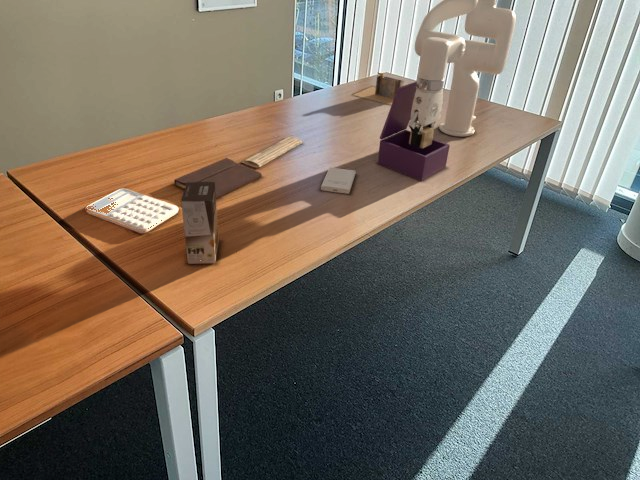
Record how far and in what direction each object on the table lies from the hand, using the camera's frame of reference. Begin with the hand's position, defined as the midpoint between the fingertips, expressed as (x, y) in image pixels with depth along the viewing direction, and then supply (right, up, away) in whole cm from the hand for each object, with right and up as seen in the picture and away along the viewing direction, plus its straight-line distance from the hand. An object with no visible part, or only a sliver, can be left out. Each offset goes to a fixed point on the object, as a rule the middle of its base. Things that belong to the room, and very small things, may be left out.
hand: (420, 142), depth 161 cm
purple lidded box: (-2, -6, +6) cm, 9 cm away
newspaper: (-46, -2, +9) cm, 47 cm away
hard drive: (-25, -13, -6) cm, 29 cm away
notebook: (-60, -13, -9) cm, 62 cm away
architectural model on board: (-2, +31, +63) cm, 70 cm away
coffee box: (-57, -33, -39) cm, 77 cm away
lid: (-5, +10, 0) cm, 11 cm away
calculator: (-79, -23, -25) cm, 86 cm away
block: (0, 0, 0) cm, 0 cm away
